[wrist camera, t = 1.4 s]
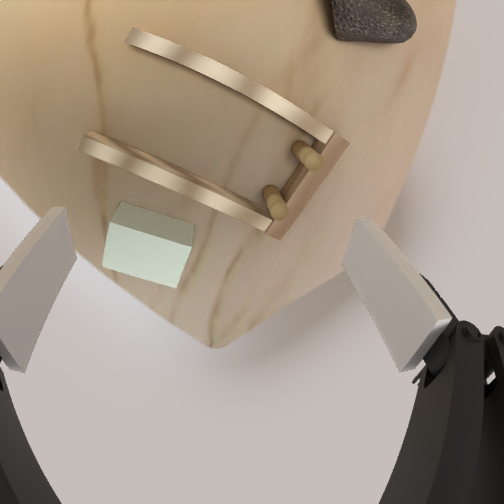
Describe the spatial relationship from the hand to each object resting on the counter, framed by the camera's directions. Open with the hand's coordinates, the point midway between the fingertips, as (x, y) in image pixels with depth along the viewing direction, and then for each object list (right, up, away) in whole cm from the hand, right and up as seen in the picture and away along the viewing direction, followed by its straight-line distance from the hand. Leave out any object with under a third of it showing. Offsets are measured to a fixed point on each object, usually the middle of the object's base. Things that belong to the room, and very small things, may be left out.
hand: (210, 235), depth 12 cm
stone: (+13, +25, +9) cm, 30 cm away
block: (-10, +2, +21) cm, 24 cm away
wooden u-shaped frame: (-2, +11, +15) cm, 19 cm away
